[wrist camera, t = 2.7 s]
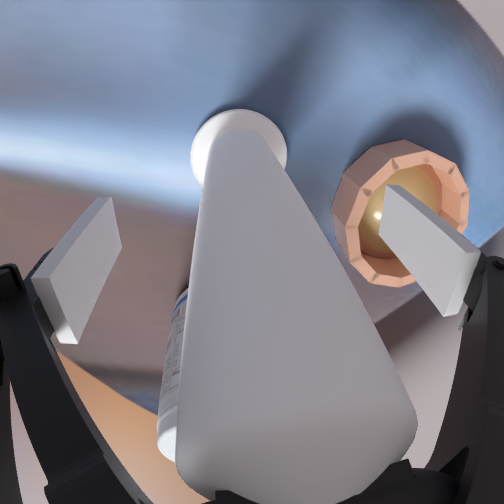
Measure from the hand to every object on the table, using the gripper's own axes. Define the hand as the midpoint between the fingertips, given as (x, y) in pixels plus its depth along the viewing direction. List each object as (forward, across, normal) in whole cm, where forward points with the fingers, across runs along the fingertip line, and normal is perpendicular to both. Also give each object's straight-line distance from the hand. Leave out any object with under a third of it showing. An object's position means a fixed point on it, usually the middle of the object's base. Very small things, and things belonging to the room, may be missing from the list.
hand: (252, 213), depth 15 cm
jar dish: (+10, +14, -4) cm, 18 cm away
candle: (+10, 0, 0) cm, 10 cm away
